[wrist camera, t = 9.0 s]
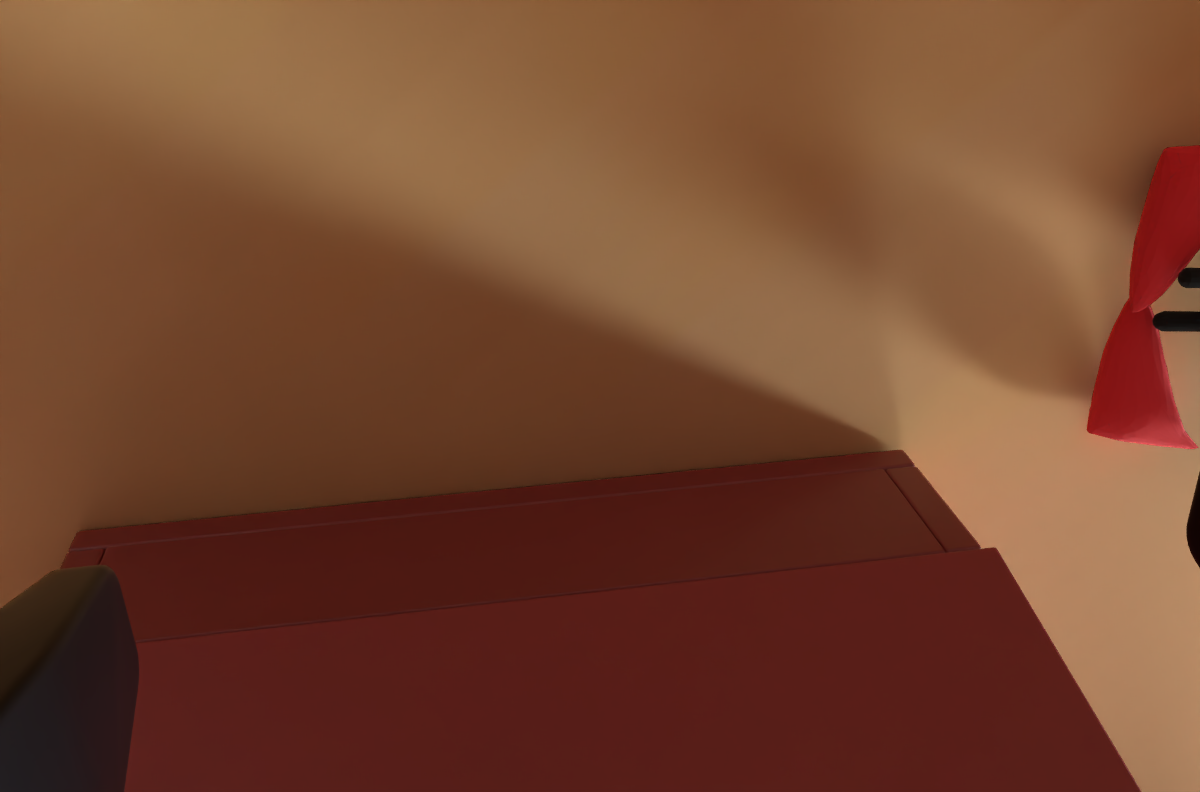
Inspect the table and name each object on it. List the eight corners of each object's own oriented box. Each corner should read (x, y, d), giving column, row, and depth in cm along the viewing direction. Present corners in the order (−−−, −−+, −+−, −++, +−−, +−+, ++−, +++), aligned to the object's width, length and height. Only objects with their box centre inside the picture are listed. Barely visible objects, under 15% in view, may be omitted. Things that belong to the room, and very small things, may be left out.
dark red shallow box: (861, 828, 29) (920, 958, 25) (182, 926, 27) (151, 1080, 23) (903, 447, 24) (984, 547, 20) (75, 529, 22) (17, 654, 18)
